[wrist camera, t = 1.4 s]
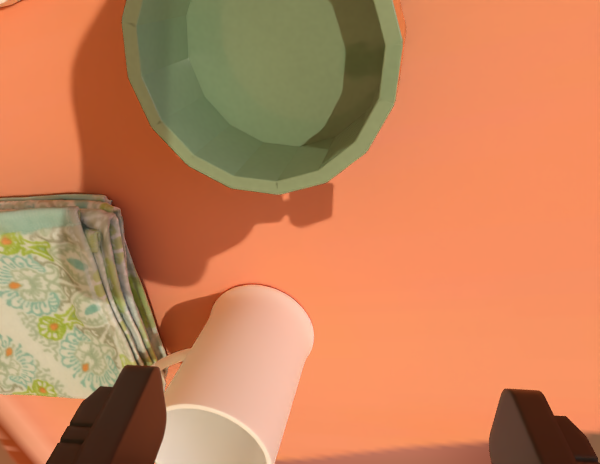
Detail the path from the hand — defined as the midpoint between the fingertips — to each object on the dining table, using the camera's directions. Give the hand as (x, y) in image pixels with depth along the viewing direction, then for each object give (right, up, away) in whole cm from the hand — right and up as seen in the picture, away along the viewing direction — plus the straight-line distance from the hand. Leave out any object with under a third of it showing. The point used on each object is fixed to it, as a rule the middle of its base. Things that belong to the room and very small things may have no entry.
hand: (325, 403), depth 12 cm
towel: (-22, -1, +31) cm, 38 cm away
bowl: (-1, +15, +18) cm, 23 cm away
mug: (-5, -3, +29) cm, 29 cm away
